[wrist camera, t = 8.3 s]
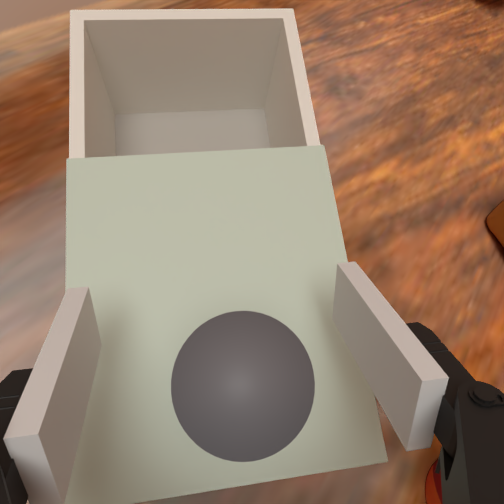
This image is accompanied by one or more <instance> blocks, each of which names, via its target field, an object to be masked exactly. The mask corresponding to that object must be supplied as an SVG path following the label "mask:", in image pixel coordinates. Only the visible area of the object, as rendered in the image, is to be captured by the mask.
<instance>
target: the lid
mask: <svg viewBox="0 0 504 504" xmlns="http://www.w3.org/2000/svg"><path fill="white" fill-rule="evenodd" d="M345 262H348V261H347V256H346V251H345V246H344V241H343V236H342V231H341V226H340V221H339V216H338V211H337V206H336V201H335V196H334V191H333V187H332V182H331V177H330V172H329V167H328V162H327V157H326V152H325V147H324V145H317V146H298V147H279V148H260V149H241V150H222V151H203V152H184V153H165V154H146V155H127V156H109V157H90V158H71V159H67V172H66V290H67V288H78V287H88V286H89V290H90V294H91V299H92V303H93V308H94V312H95V317H96V321H97V326H98V330H99V335H100V339H101V344H102V346H101V351H100V355H99V359H98V363H97V368H96V372H95V376H94V380H93V385H92V389H91V393H90V397H89V402H88V406H87V410H86V414H85V419H84V423H83V427H82V431H81V436H80V440H79V444H78V448H77V453H76V457H75V461H74V465H73V470H72V474H71V478H70V482H69V487H68V491H67V495H66V499H65V504H135V503H141V502H147V501H153V500H159V499H165V498H171V497H177V496H183V495H189V494H195V493H202V492H208V491H214V490H220V489H226V488H232V487H238V486H244V485H250V484H256V483H262V482H269V481H275V480H281V479H287V478H293V477H299V476H305V475H311V474H317V473H323V472H329V471H335V470H342V469H348V468H354V467H360V466H366V465H372V464H378V463H384V462H388V459H387V454H386V449H385V444H384V439H383V434H382V429H381V424H380V419H379V414H378V409H377V404H376V399H375V395H374V393H373V391H372V389H371V387H370V386H369V384H368V382H367V380H366V378H365V377H364V375H363V373H362V371H361V370H360V368H359V366H358V364H357V362H356V361H355V359H354V357H353V355H352V354H351V352H350V350H349V348H348V346H347V345H346V343H345V341H344V339H343V337H342V336H341V334H340V332H339V330H338V329H337V327H336V325H335V323H334V321H333V320H332V316H333V305H334V293H335V282H336V271H337V263H345ZM66 290H65V292H66Z"/></svg>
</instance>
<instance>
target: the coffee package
mask: <svg viewBox="0 0 504 504" xmlns="http://www.w3.org/2000/svg"><path fill="white" fill-rule="evenodd" d="M487 224H488V227H489V229H490V231H491V232H492V233H493V234H494V235H495V236H496V237H497V239H498V240H499V242H500V243H501V244H502V246H503V247H504V201H503V202H501V203H500V204H499V205H498V206H497V207H496V208H495V209H494V210H493V211H492V212H491V213H490V214H489V215H488V217H487Z"/></svg>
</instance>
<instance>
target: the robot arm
mask: <svg viewBox="0 0 504 504" xmlns="http://www.w3.org/2000/svg"><path fill="white" fill-rule="evenodd" d="M332 320H333V321H334V323H335V325H336V327H337V329H338V330H339V332H340V334H341V336H342V337H343V339H344V341H345V343H346V345H347V346H348V348H349V350H350V352H351V354H352V355H353V357H354V359H355V361H356V362H357V364H358V366H359V368H360V370H361V371H362V373H363V375H364V377H365V378H366V380H367V382H368V384H369V386H370V387H371V389H372V391H373V393H374V395H375V396H376V398H377V400H378V402H379V403H380V405H381V407H382V409H383V411H384V412H385V414H386V416H387V418H388V419H389V421H390V423H391V425H392V427H393V428H394V430H395V432H396V434H397V436H398V437H399V439H400V441H401V443H402V444H403V446H404V448H405V450H406V451H412V450H418V449H424V448H430V447H431V444H432V440H433V436H434V433H435V435H436V437H437V438H438V440H439V441H440V443H441V444H442V448H441V451H440V455H439V458H438V462H437V466H436V470H435V473H438V474H439V472H440V469H441V486H442V503H443V504H504V394H503V393H502V392H501V391H500V390H499V389H497V388H495V387H494V386H492V385H490V384H487V383H484V382H481V381H476V380H475V379H474V378H473V377H472V376H471V375H470V374H469V373H468V371H467V370H466V369H465V368H464V367H463V366H462V365H461V363H460V362H459V361H458V360H457V359H456V358H455V357H454V355H453V354H452V353H451V352H450V351H448V349H447V347H446V346H445V345H444V344H443V343H441V341H440V339H439V338H438V337H437V336H436V335H435V334H434V333H433V332H432V330H430V329H428V328H427V327H425V326H423V325H422V324H420V323H419V322H416V323H407V324H405V322H404V321H403V320H402V319H401V318H400V316H399V315H398V314H397V313H396V311H395V310H394V309H393V308H392V306H391V305H390V304H389V303H388V301H387V300H386V299H385V298H384V297H383V295H382V294H381V293H380V292H379V290H378V289H377V288H376V287H375V285H374V284H373V283H372V282H371V280H370V279H369V278H368V277H367V275H366V274H365V273H364V272H363V271H362V269H361V268H360V267H359V266H358V264H357V263H356V262H345V263H337V271H336V282H335V293H334V305H333V316H332ZM101 346H102V344H101V339H100V335H99V330H98V326H97V321H96V317H95V312H94V308H93V303H92V299H91V294H90V290H89V286H88V287H78V288H67V290H66V292H65V295H64V297H63V300H62V302H61V304H60V307H59V309H58V311H57V314H56V316H55V318H54V321H53V323H52V325H51V328H50V330H49V332H48V335H47V337H46V339H45V342H44V344H43V346H42V349H41V351H40V353H39V356H38V358H37V361H36V363H35V365H34V368H32V369H23V370H14V371H12V372H11V373H10V374H9V375H8V376H7V377H6V378H5V379H4V380H3V381H2V382H1V383H0V504H26V502H27V499H28V501H29V503H30V504H65V499H66V495H67V491H68V487H69V482H70V478H71V474H72V470H73V465H74V461H75V457H76V453H77V448H78V444H79V440H80V436H81V431H82V427H83V423H84V419H85V414H86V410H87V406H88V402H89V397H90V393H91V389H92V385H93V380H94V376H95V372H96V368H97V363H98V359H99V355H100V351H101Z"/></svg>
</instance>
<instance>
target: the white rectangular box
mask: <svg viewBox="0 0 504 504" xmlns="http://www.w3.org/2000/svg"><path fill="white" fill-rule="evenodd" d="M317 145H320V141H319V136H318V131H317V126H316V121H315V116H314V111H313V106H312V101H311V96H310V91H309V86H308V81H307V76H306V71H305V65H304V60H303V55H302V50H301V45H300V40H299V35H298V30H297V25H296V20H295V15H294V10H293V9H155V10H70V104H69V159H71V158H90V157H109V156H127V155H146V154H165V153H184V152H203V151H222V150H241V149H260V148H279V147H298V146H317Z"/></svg>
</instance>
